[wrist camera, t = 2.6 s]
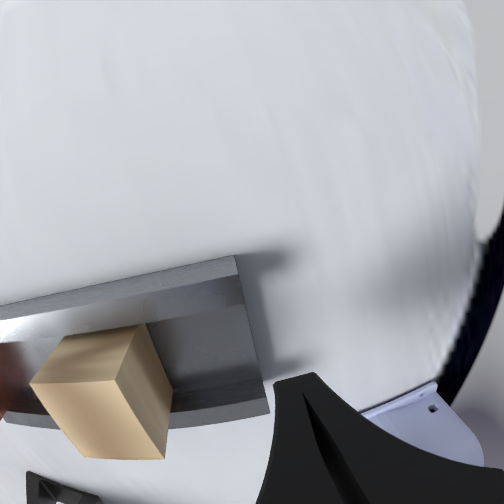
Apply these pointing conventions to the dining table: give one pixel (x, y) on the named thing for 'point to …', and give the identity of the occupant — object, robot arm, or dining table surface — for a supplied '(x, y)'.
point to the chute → (161, 332)
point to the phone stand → (54, 492)
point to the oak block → (108, 393)
